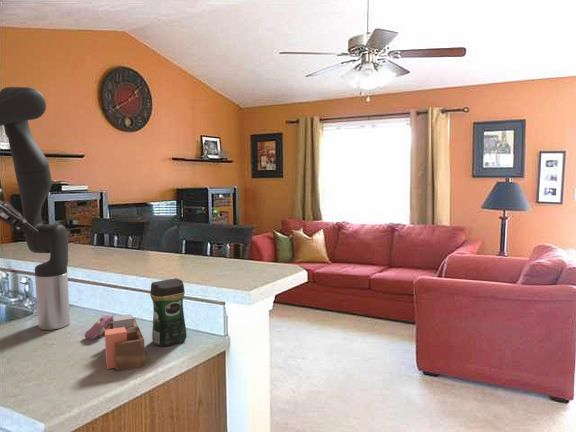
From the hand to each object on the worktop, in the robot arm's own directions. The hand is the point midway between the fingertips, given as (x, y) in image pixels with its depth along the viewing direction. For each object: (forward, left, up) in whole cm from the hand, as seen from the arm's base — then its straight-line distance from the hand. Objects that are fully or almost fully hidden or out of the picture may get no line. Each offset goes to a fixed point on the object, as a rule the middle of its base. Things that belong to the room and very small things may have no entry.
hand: (35, 234), depth 114 cm
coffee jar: (+2, +33, -34) cm, 47 cm away
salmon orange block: (+12, +17, -34) cm, 40 cm away
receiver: (+7, +20, -34) cm, 40 cm away
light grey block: (+2, +20, -34) cm, 39 cm away
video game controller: (-13, +15, -34) cm, 40 cm away
